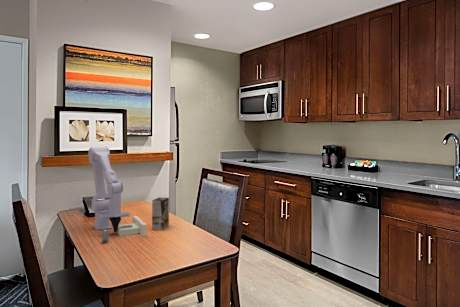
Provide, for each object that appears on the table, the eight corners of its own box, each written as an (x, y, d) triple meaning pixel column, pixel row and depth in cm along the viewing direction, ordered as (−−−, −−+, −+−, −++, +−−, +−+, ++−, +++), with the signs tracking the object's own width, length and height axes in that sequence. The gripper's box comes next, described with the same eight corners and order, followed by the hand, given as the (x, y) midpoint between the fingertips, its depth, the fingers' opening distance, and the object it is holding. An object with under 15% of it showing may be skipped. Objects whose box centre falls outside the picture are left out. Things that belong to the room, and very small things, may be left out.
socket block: (115, 231, 174) (115, 225, 174) (134, 228, 179) (134, 223, 179) (119, 236, 165) (119, 230, 165) (139, 233, 170) (139, 227, 170)
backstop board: (132, 226, 182) (132, 216, 182) (136, 226, 183) (136, 215, 183) (142, 236, 165) (142, 224, 165) (146, 236, 166) (146, 224, 166)
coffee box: (162, 230, 176) (162, 200, 175) (151, 229, 177) (151, 200, 176) (169, 225, 185) (169, 197, 184) (158, 225, 186) (158, 197, 185)
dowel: (101, 241, 157) (101, 229, 156) (107, 240, 158) (107, 228, 158) (102, 243, 154) (102, 231, 154) (108, 242, 156) (108, 230, 155)
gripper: (101, 208, 161) (101, 235, 162) (131, 205, 168) (131, 231, 169) (99, 205, 167) (99, 232, 168) (128, 203, 174) (128, 228, 175)
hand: (115, 231), depth 169 cm, fingers closed
